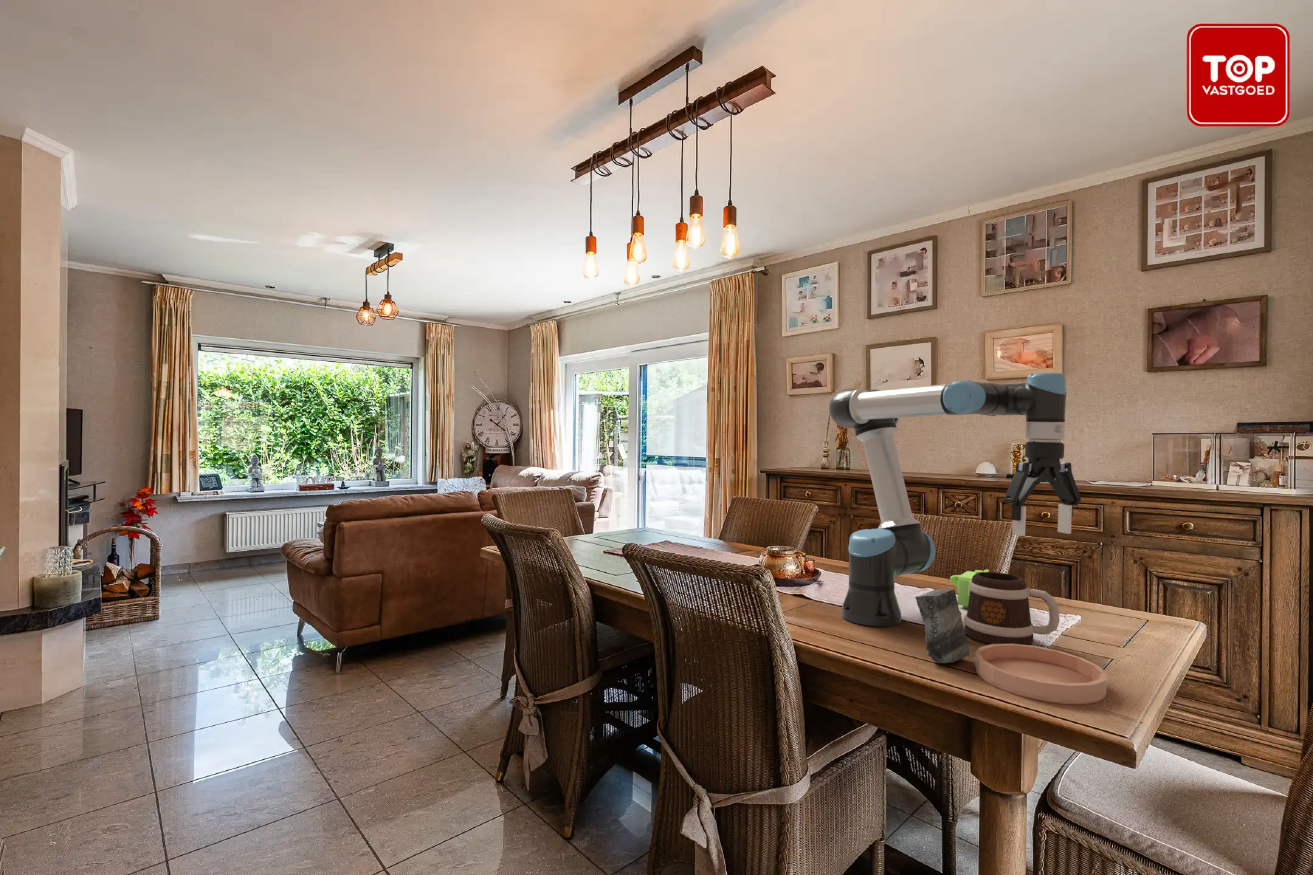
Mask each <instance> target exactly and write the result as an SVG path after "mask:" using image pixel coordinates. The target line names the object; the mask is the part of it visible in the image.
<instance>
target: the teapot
mask: <svg viewBox="0 0 1313 875" xmlns="http://www.w3.org/2000/svg"><path fill="white" fill-rule="evenodd" d="M980 572H990V570H989V569H984V570H979V569H975V570H974V571H971V570H970V571H969V570H967V571H965V572H963V573H962V574H955V575H954V574H953V575H951V576H950V578H949V579H950V581H951V583H952V585H953V586H955V588H957V602H958V606H962V607H963V608H964V607H965V608H964V609H968V603H969V595H970V590H969V587H968V586H969V582H970V581H972V577H973V575H975V574H977V573H980Z"/></svg>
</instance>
